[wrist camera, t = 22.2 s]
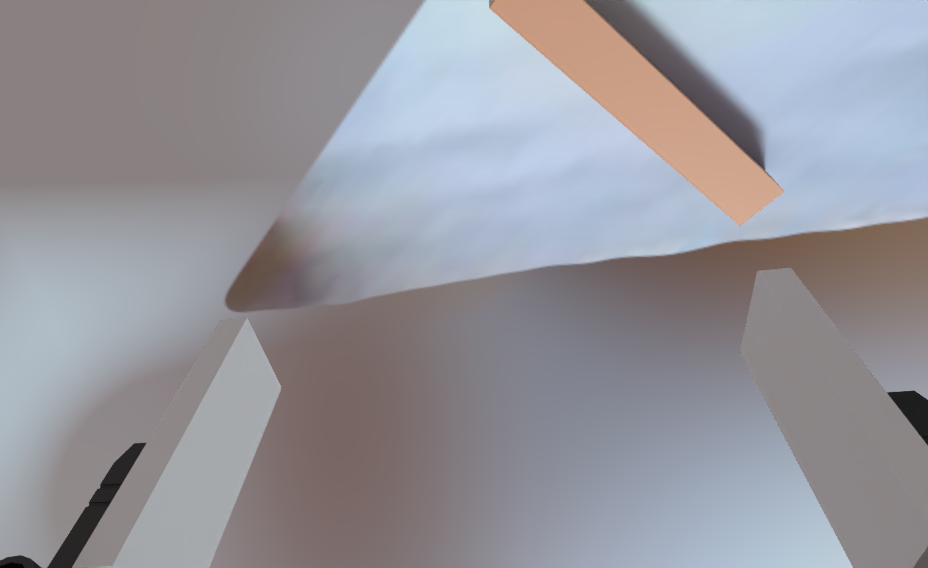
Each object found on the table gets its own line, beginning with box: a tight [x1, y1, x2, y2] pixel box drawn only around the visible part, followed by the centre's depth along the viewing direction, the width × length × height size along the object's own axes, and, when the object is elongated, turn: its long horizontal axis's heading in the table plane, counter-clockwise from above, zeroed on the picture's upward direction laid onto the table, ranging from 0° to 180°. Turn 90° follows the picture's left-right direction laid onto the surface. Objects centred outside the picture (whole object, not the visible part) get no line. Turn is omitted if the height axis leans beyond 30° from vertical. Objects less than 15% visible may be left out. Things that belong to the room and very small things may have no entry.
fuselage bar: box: [489, 0, 784, 226], centre depth 40 cm, size 26×4×4 cm, turn 53°
